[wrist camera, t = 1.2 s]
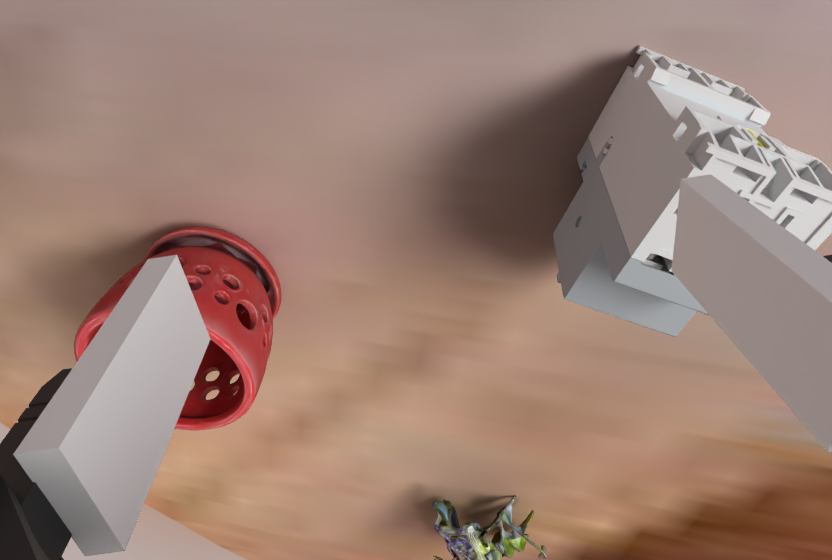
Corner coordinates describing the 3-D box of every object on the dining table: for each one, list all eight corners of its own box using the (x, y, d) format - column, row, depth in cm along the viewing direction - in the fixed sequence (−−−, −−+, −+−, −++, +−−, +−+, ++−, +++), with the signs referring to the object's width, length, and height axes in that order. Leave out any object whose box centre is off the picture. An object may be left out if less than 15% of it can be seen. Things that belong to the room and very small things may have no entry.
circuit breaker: (538, 225, 45) (556, 362, 33) (639, 45, 37) (713, 141, 25) (625, 256, 46) (674, 400, 34) (743, 87, 38) (862, 199, 26)
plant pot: (125, 281, 53) (45, 377, 43) (189, 183, 46) (111, 271, 37) (250, 355, 57) (202, 459, 47) (325, 276, 50) (287, 377, 41)
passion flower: (454, 467, 73) (403, 512, 63) (534, 457, 67) (492, 505, 57) (481, 555, 73) (434, 615, 62) (564, 553, 67) (527, 618, 57)
